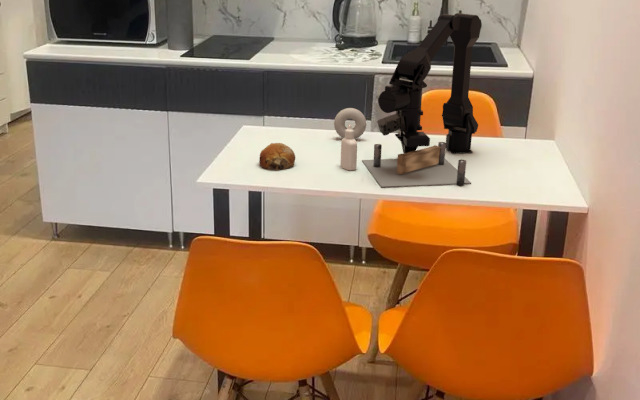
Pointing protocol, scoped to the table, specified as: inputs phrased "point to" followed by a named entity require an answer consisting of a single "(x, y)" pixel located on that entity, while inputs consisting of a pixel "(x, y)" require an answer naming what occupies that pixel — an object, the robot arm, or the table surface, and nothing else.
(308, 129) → the table surface
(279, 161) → the bread roll
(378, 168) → the mat
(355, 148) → the eye dropper bottle
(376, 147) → the gate posts
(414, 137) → the robot arm
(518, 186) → the table surface
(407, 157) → the gate
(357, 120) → the donut
